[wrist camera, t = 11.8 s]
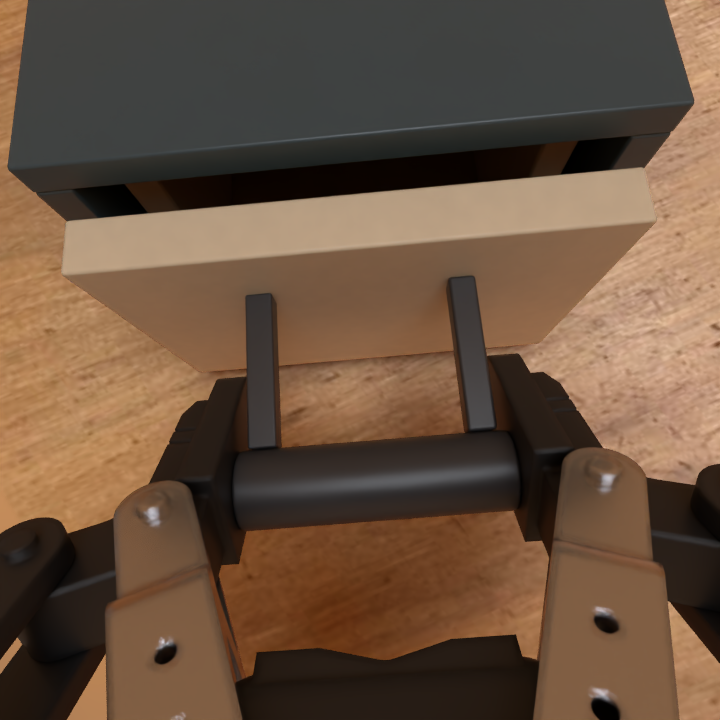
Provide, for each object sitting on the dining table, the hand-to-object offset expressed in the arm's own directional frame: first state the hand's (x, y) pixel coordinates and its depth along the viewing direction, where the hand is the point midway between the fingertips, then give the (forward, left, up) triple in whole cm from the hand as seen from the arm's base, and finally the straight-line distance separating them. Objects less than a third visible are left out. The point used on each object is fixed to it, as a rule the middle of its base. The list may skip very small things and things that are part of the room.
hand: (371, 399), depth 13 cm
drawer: (0, +6, -4) cm, 8 cm away
